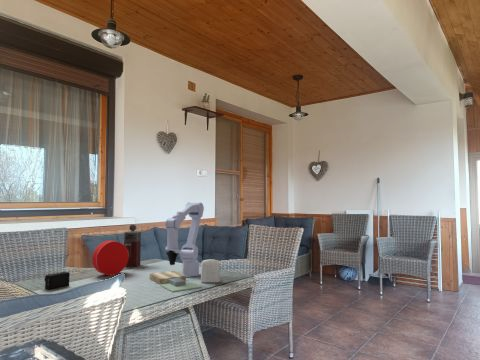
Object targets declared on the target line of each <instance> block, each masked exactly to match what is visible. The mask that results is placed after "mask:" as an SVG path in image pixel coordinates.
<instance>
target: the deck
mask: <svg viewBox="0 0 480 360" xmlns="http://www.w3.org/2000/svg"><path fill="white" fill-rule="evenodd" d="M173 278H180V279H183V280H185V281H187V277H186V276H185V275H183V274H182V273H181V272H178V271H176V270H169V271H162V272H161V271H160V272H153V273H152V272H151V273H149V278H148V279H149V280H150V279H151V280H150V281H152V282H154V283H156V284H157V285H159V286H160V284H165V283H168V279H173Z"/></svg>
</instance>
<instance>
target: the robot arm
mask: <svg viewBox="0 0 480 360" xmlns="http://www.w3.org/2000/svg"><path fill="white" fill-rule="evenodd" d="M204 211H205V207H204V204H203V202H186V204H185V207H184V208H183V209H182V210H181V211H176V214H174V215H173V216H172V217H169V218H168V219H166V220H165V223H164V225H165V228H166V229H165V230H166V232H167V233H166V234H167V236H166V237H167V238H166V239H167V242H166V243H167V245H166V246H165V248H164V249H165V251H166V255H167V258H168V262H169V265H170V266H175V264H176V260H177V258H178V255H179V259H180V260H181V261H182V273H181V274H183V275H185V276H186V278H190V277H191V278H192V277H198V276H200V263H199V260H197V259H198V257H199V248H198V246H197V245H196V241H197V237H198V234H199V233H198V231H199V228H200V224H201V219H202V218H203V216H204V215H203V214H204ZM187 215H188V216H189V217H190V218H191V223H190V226H189V230H188V231H189V232H188V235H187V240H186V243H185V244H183V245H182V247H181V249H179V229H180V227H181V224H182V223H183V222H184V221H185V220H186V216H187Z"/></svg>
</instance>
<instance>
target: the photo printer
mask: <svg viewBox="0 0 480 360" xmlns="http://www.w3.org/2000/svg"><path fill="white" fill-rule="evenodd" d="M220 267H221V264H220V261H219V260H217V259H213V258H212V259H211V258H208V259H204V260H202V261H201V268H200V282H201V283H220V280H221V279H220V272H221V271H220V269H221V268H220Z"/></svg>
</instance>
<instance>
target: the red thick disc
mask: <svg viewBox="0 0 480 360" xmlns="http://www.w3.org/2000/svg"><path fill="white" fill-rule="evenodd" d="M128 258H129V254H128V250H127V248H126V246H125V245H124V243H122V242H120V241H116V240H105V241H103V242H101V243H99V244H98V245H97V247H95V249H94V251H93V253H92V259H91V260H92V261H91V263H92V265H93V267H94V269H95V271H97V272H98V273H99V274H103V275H105V276H114V275H113V274H116V275H118V274H120V273H121V272H123V270H124V269H125V268H126V267H125V266H126V265H127V262H128Z"/></svg>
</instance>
